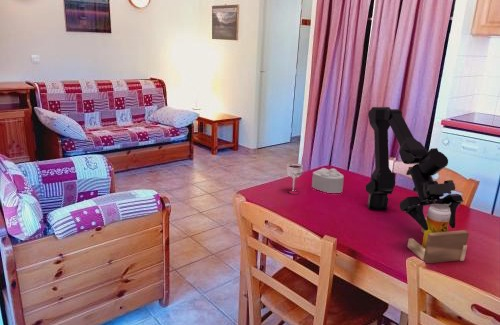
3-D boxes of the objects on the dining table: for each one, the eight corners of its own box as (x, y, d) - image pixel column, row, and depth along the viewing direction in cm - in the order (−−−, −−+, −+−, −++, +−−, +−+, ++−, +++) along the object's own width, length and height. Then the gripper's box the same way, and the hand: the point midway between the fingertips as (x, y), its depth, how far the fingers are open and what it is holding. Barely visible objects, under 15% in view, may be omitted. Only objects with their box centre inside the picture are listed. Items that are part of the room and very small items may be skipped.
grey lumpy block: (321, 182, 176) (323, 164, 173) (347, 190, 168) (349, 171, 165) (308, 188, 168) (310, 169, 166) (335, 196, 160) (337, 177, 158)
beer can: (433, 258, 115) (442, 213, 111) (417, 248, 121) (424, 205, 116) (447, 254, 118) (456, 209, 113) (430, 244, 123) (438, 201, 118)
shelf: (391, 233, 130) (395, 209, 127) (424, 230, 132) (428, 207, 130) (427, 264, 112) (432, 236, 109) (464, 260, 115) (470, 233, 112)
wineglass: (282, 190, 165) (283, 164, 161) (295, 188, 168) (297, 162, 164) (290, 196, 159) (292, 168, 156) (304, 194, 162) (306, 167, 158)
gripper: (410, 171, 113) (428, 222, 106) (465, 169, 117) (485, 218, 110) (392, 187, 123) (407, 234, 116) (443, 184, 127) (460, 230, 120)
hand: (440, 229), depth 115 cm, fingers open, 9 cm apart
